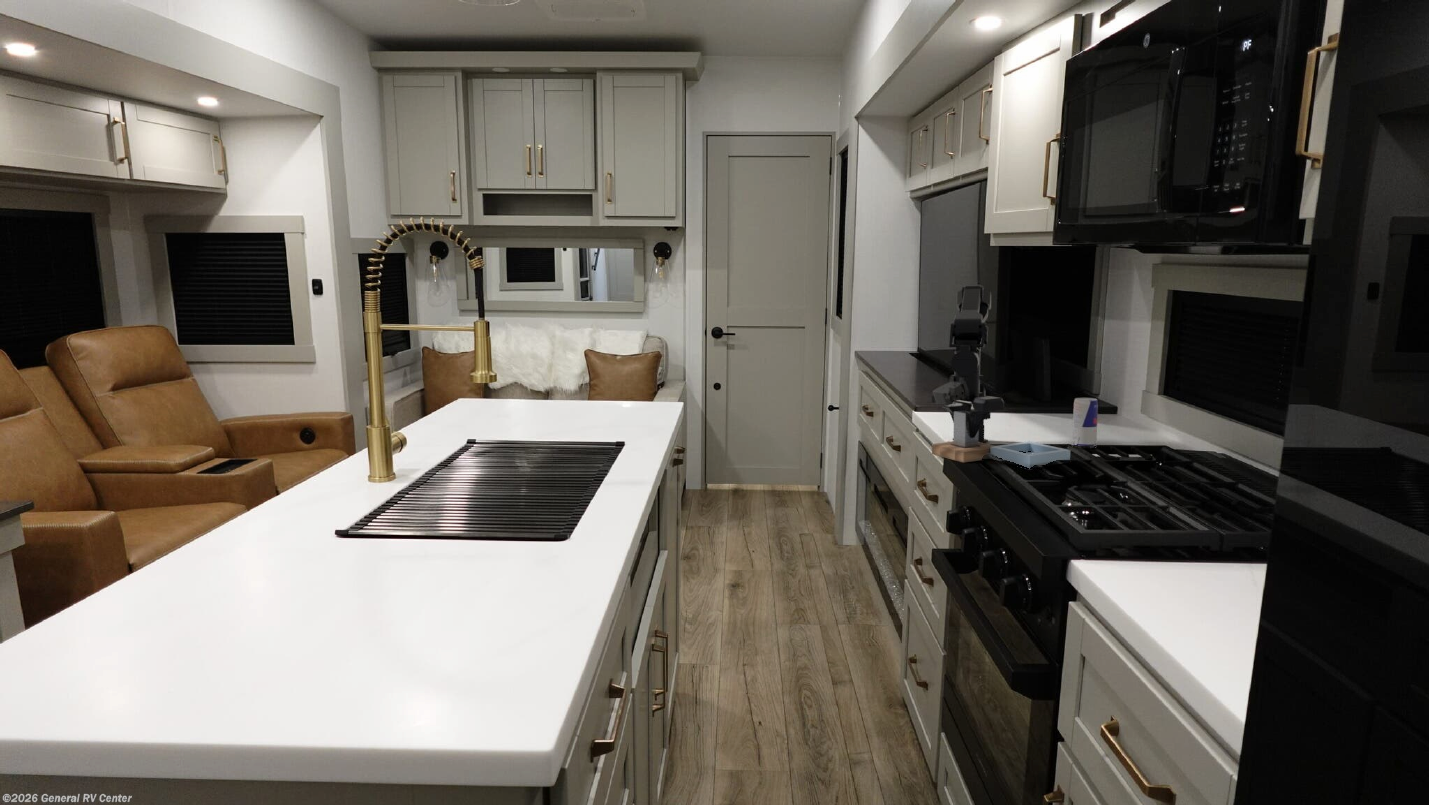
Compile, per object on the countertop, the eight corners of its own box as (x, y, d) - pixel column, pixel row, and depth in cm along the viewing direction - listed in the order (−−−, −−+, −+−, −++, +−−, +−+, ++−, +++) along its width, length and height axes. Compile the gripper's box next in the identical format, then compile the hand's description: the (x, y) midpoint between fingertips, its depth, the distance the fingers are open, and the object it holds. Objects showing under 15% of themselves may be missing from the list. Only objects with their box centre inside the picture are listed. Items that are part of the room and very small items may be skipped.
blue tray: (990, 459, 184) (990, 446, 183) (1029, 453, 188) (1029, 441, 188) (1029, 469, 173) (1030, 455, 172) (1069, 463, 177) (1070, 450, 177)
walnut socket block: (932, 454, 191) (932, 443, 191) (967, 449, 195) (967, 439, 195) (963, 462, 181) (963, 451, 181) (1000, 457, 185) (1000, 446, 185)
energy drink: (1100, 449, 191) (1102, 400, 190) (1077, 449, 192) (1079, 400, 190) (1090, 444, 197) (1092, 397, 195) (1068, 445, 197) (1070, 397, 195)
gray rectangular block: (953, 452, 189) (953, 411, 188) (966, 450, 191) (967, 409, 189) (964, 455, 185) (965, 413, 184) (978, 453, 187) (978, 412, 186)
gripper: (914, 370, 191) (913, 433, 193) (967, 377, 174) (966, 446, 176) (950, 367, 195) (949, 429, 197) (1006, 373, 178) (1004, 441, 180)
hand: (965, 436), depth 187 cm, fingers closed on gray rectangular block, 4 cm apart
